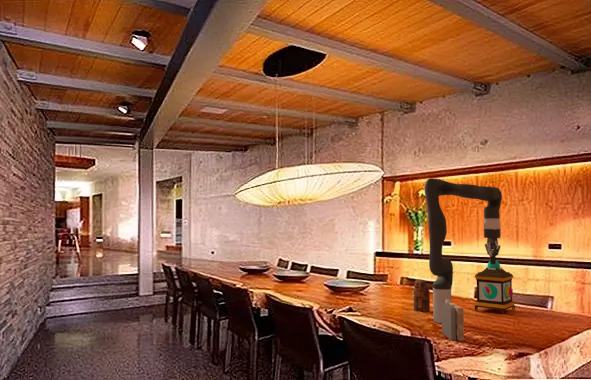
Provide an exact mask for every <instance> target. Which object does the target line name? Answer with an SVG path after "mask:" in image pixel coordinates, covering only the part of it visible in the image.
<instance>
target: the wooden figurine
mask: <svg viewBox="0 0 591 380" xmlns="http://www.w3.org/2000/svg"><path fill="white" fill-rule="evenodd" d="M413 286H414V287H413V288H414V289H413V310H414V311H417V312H423V313H429V312H430V310H431V309H430V308H431V307H430V306H431V303H430V302H431V300H430V299H431V297H430V295H431V293H430V287H429V285H428V283H427V281H425V280H424V279H417V280H415V281H414V285H413Z"/></svg>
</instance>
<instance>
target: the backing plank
mask: <svg viewBox="0 0 591 380" xmlns="http://www.w3.org/2000/svg"><path fill="white" fill-rule="evenodd" d="M447 302H452V299H451V300H446V303H441V322H442V323H441V333H442V335H444V336H446V337H447V338H448V339H449V340H450V341H457V339H456V319H455V308H454V307H452V306H451V305H449V304H447Z"/></svg>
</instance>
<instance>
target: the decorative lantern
mask: <svg viewBox="0 0 591 380" xmlns="http://www.w3.org/2000/svg"><path fill="white" fill-rule="evenodd" d="M474 278H475V280H476V302H475V304H474V310H475V312H478V311H479V308H485V309H486V308H487V309H492V310H493V309H494V310H501V311H502V314H503V316H505V315H506V314H507V310H508V309H511V311H512V312H514V311H515V310H516V305H515V303H514V301H513V292H514V290H513V287H512V286H513V285H512V284H513V283H512V281H513V278H514V274H513V273H510V271H506V270H505V269H504V268H503V267H501V264H500V262H499V261H497V260H496V264H490V261H488V263H487V267H485V269H483V270H482V271H479V272H477V273H476V274H475V275H474Z"/></svg>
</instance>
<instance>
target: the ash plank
mask: <svg viewBox="0 0 591 380" xmlns="http://www.w3.org/2000/svg"><path fill="white" fill-rule="evenodd" d="M447 304H449V305H451V306H452V307H454V308H455V319H456V341H458V342H463V341H465V333H464V332H465V331H464V328H465V326H464V321H465V320H464V308H463V307H462V306H460V305H458V304H456V303H454V302H452V301H451V302H447Z"/></svg>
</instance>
